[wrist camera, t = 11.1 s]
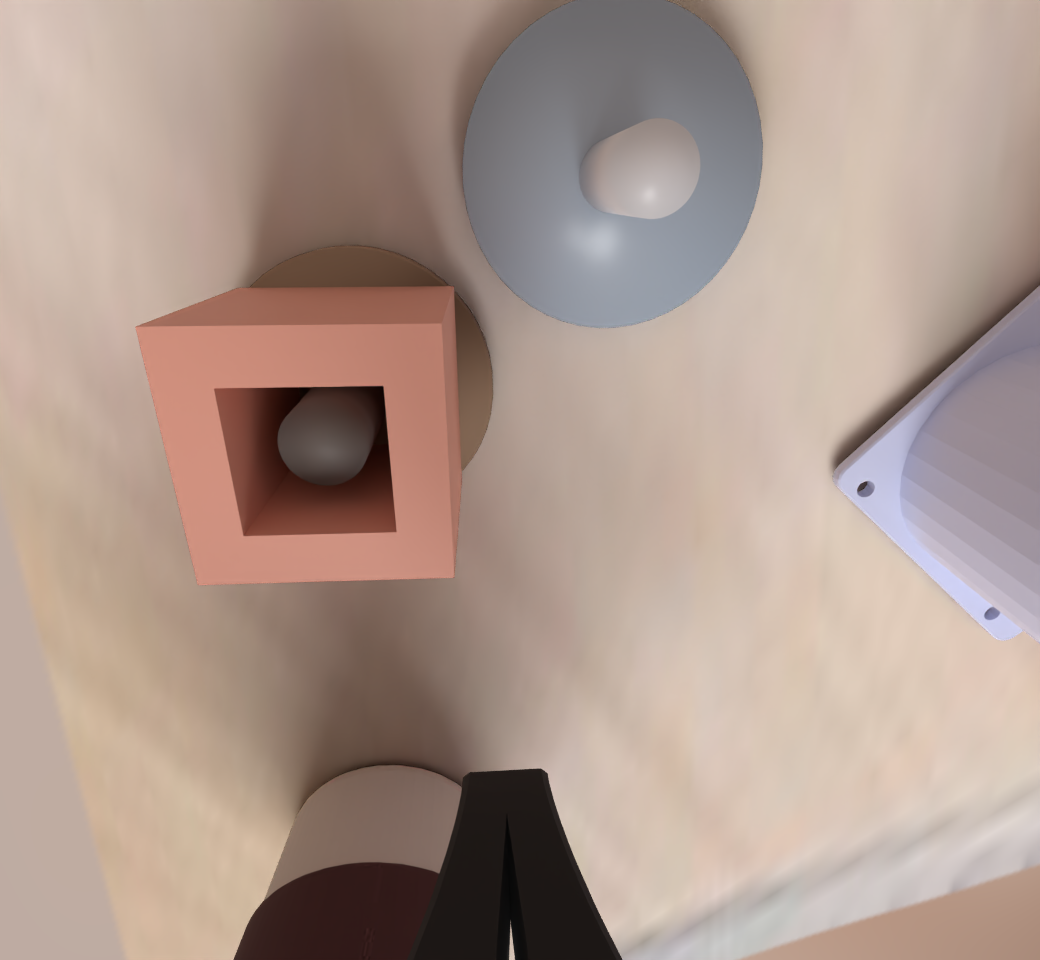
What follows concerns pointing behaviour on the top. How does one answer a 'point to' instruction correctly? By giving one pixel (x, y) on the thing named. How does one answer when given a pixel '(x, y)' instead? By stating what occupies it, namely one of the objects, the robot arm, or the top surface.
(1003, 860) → the top surface
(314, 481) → the hub
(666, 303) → the stand
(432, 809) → the coffee cup
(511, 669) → the top surface
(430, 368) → the salmon square tube
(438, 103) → the top surface
